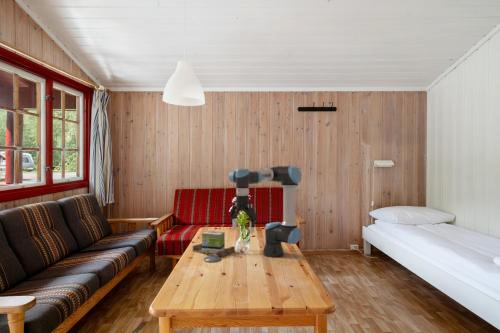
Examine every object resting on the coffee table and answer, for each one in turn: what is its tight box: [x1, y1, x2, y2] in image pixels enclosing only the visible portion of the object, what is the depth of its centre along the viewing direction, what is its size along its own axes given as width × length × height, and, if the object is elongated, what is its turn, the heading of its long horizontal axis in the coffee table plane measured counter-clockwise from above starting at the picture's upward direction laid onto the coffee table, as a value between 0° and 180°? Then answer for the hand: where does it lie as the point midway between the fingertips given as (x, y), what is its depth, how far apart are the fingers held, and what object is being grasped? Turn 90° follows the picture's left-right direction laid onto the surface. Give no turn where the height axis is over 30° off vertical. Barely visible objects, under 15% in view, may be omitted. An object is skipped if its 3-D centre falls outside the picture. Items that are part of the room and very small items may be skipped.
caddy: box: [192, 242, 236, 258], centre depth 236 cm, size 18×27×4 cm, turn 51°
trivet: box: [203, 255, 222, 263], centre depth 217 cm, size 12×12×1 cm
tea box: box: [201, 230, 226, 254], centre depth 236 cm, size 15×10×15 cm
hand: (243, 231), depth 183 cm, fingers open, 13 cm apart
